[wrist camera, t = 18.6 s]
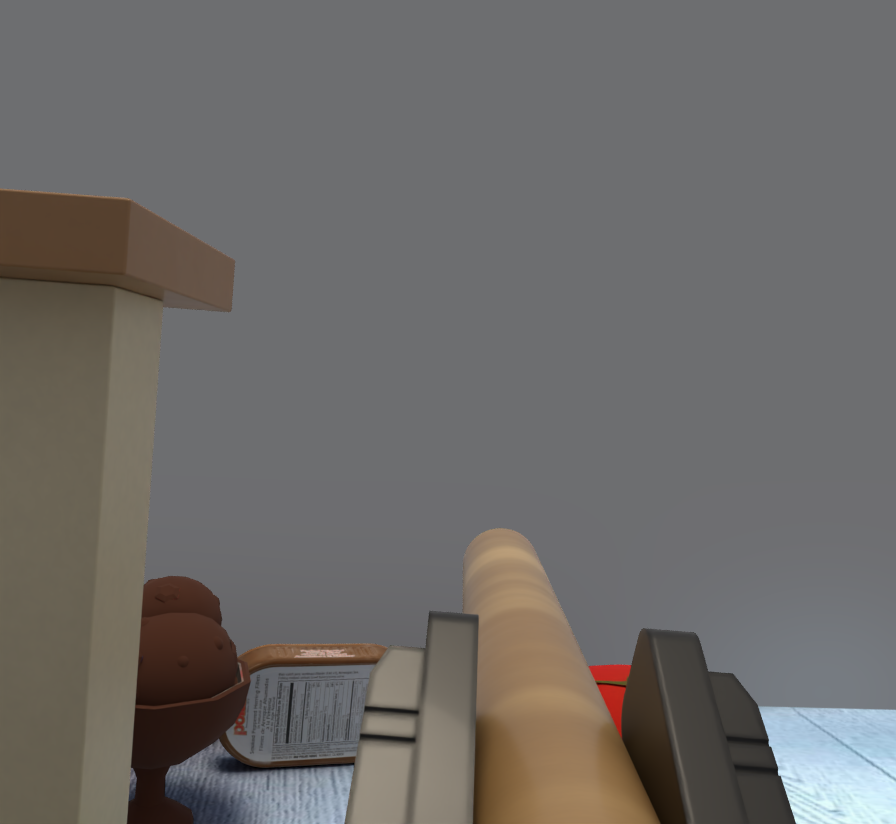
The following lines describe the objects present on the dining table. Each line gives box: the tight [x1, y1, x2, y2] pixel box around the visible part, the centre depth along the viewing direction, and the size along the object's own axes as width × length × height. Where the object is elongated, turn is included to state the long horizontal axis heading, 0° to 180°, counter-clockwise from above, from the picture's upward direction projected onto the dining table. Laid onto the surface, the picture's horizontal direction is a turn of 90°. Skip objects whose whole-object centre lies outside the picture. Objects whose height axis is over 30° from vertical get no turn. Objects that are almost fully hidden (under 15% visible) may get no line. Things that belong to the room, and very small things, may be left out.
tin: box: [219, 644, 387, 768], centre depth 61 cm, size 15×3×8 cm, turn 108°
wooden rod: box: [463, 528, 661, 824], centre depth 17 cm, size 20×2×2 cm, turn 179°
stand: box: [0, 189, 235, 824], centre depth 27 cm, size 10×8×32 cm
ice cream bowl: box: [127, 576, 251, 824], centre depth 50 cm, size 11×11×15 cm
